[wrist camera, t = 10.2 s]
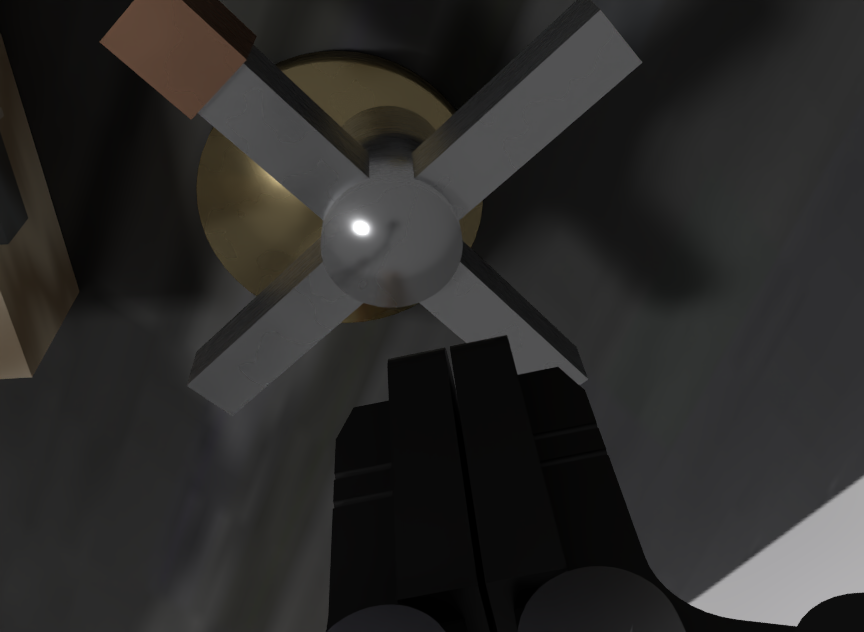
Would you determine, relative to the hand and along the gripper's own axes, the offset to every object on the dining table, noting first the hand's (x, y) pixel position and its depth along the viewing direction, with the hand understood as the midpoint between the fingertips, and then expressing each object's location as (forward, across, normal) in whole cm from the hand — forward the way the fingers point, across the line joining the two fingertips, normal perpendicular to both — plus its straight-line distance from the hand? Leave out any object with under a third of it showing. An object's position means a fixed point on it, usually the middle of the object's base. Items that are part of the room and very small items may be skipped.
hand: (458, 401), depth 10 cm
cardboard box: (+23, +18, -1) cm, 29 cm away
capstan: (+23, +2, +5) cm, 24 cm away
